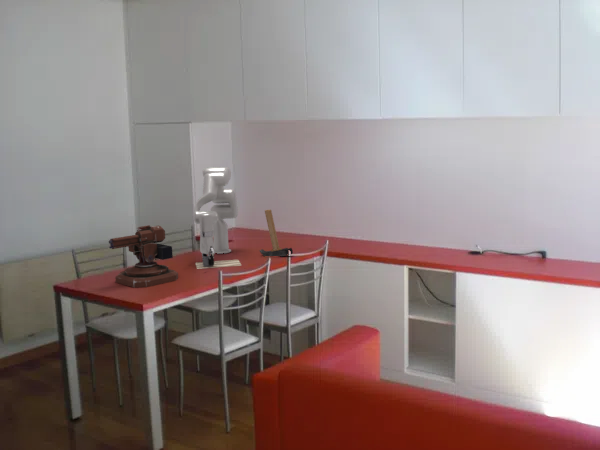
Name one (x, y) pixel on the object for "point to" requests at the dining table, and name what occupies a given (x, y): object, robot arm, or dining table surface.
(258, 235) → the dining table surface
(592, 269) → the dining table surface
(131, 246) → the model turret
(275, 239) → the hammer
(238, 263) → the board
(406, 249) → the dining table surface
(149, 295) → the dining table surface
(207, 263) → the cap
